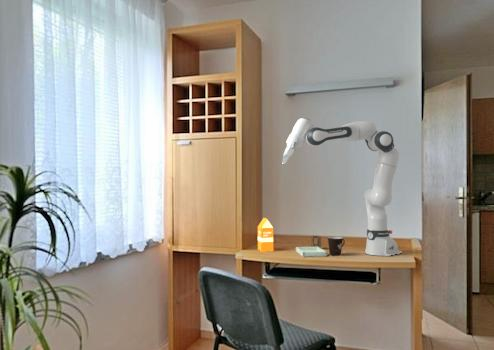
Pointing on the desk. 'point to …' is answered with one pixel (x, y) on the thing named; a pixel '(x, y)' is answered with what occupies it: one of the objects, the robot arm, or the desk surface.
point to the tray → (311, 251)
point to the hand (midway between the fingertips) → (282, 164)
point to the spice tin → (317, 241)
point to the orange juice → (265, 236)
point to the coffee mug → (335, 245)
